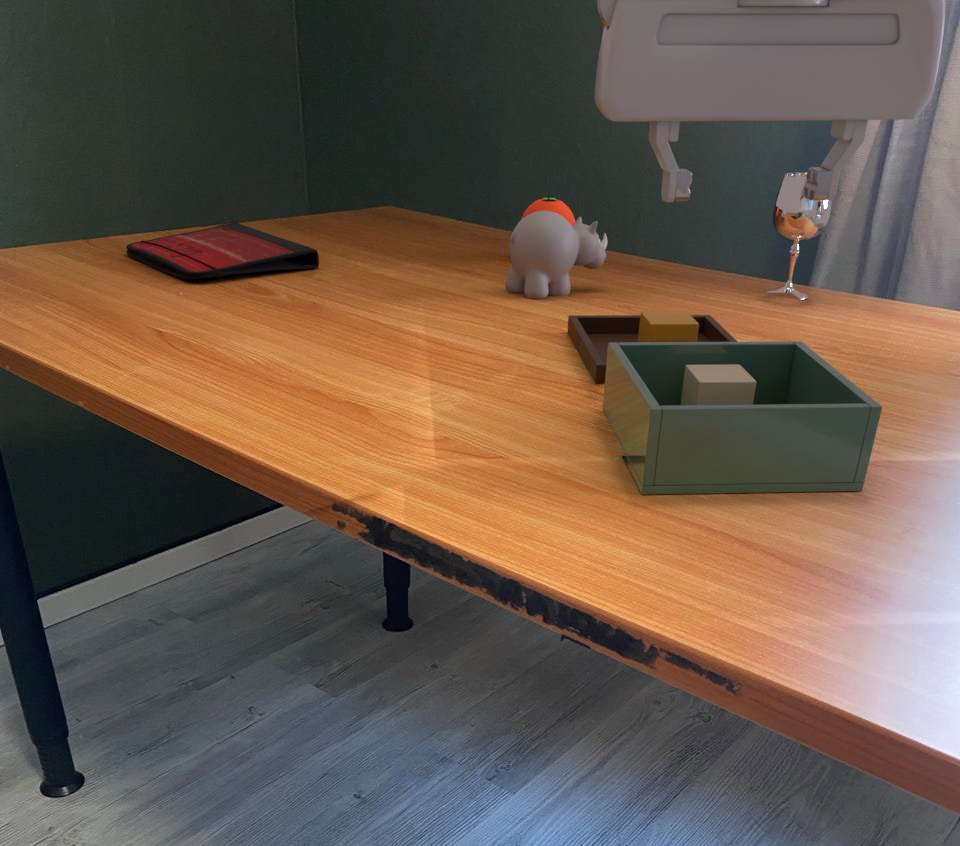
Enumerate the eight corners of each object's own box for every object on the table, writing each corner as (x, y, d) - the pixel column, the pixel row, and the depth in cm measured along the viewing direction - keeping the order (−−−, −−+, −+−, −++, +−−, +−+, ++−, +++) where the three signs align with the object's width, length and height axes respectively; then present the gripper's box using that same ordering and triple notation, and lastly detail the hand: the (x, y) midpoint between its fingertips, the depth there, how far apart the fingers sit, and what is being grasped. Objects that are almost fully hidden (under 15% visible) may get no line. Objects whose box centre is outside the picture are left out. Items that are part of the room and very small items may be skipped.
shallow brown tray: (707, 337, 94) (710, 314, 93) (757, 389, 81) (761, 363, 80) (567, 338, 93) (568, 315, 92) (594, 390, 80) (596, 364, 79)
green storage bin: (787, 414, 76) (801, 341, 73) (862, 491, 64) (882, 406, 61) (601, 416, 75) (607, 342, 72) (641, 494, 63) (651, 409, 60)
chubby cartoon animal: (623, 295, 108) (631, 211, 103) (529, 307, 103) (533, 219, 98) (586, 281, 113) (591, 201, 108) (494, 292, 108) (496, 208, 103)
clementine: (518, 250, 127) (520, 190, 123) (572, 251, 127) (576, 191, 123) (518, 263, 121) (520, 200, 117) (575, 265, 120) (579, 201, 117)
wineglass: (781, 286, 112) (800, 170, 106) (824, 296, 108) (848, 176, 102) (749, 294, 109) (767, 174, 102) (793, 304, 105) (815, 181, 99)
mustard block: (681, 358, 86) (687, 311, 84) (693, 372, 83) (699, 323, 80) (636, 358, 86) (640, 311, 84) (645, 372, 82) (650, 323, 80)
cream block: (731, 417, 73) (740, 363, 71) (747, 437, 70) (757, 381, 68) (678, 418, 73) (685, 364, 71) (692, 437, 70) (699, 381, 68)
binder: (237, 220, 129) (319, 247, 115) (240, 239, 131) (321, 268, 117) (118, 238, 121) (190, 270, 107) (122, 258, 123) (194, 292, 109)
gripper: (611, -69, 53) (595, 210, 60) (981, -67, 54) (921, 206, 62) (591, -62, 58) (578, 194, 66) (929, -60, 59) (879, 190, 67)
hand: (747, 200), depth 64 cm, fingers open, 8 cm apart
